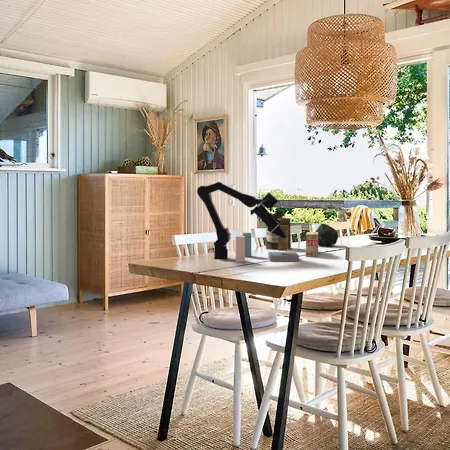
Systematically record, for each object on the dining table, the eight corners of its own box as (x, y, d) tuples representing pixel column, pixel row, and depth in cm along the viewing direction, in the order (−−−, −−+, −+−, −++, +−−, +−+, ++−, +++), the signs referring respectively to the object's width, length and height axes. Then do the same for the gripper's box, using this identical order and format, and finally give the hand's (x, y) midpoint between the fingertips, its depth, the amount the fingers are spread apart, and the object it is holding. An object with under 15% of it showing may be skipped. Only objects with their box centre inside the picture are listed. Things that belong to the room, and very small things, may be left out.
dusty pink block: (235, 262, 269) (235, 236, 268) (235, 260, 274) (235, 236, 273) (244, 262, 269) (245, 236, 268) (244, 260, 274) (244, 236, 273)
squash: (345, 237, 342) (330, 218, 346) (337, 240, 329) (321, 221, 333) (329, 251, 348) (314, 232, 352) (320, 254, 336) (305, 235, 340)
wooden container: (262, 249, 324) (262, 212, 323) (270, 246, 338) (270, 211, 336) (286, 250, 319) (286, 212, 317) (293, 247, 332) (293, 211, 331)
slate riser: (270, 261, 271) (270, 255, 271) (268, 257, 285) (268, 252, 285) (298, 261, 271) (298, 255, 271) (295, 257, 285) (295, 252, 285)
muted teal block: (242, 256, 289) (242, 233, 288) (242, 255, 294) (242, 232, 293) (251, 256, 289) (251, 233, 288) (251, 255, 294) (251, 232, 293)
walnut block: (278, 250, 276) (278, 225, 275) (278, 249, 281) (279, 225, 280) (287, 250, 276) (287, 226, 275) (287, 249, 280) (288, 225, 279)
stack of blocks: (307, 252, 310) (307, 230, 310) (318, 252, 309) (318, 230, 308) (305, 257, 289) (305, 233, 289) (317, 257, 288) (317, 234, 287)
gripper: (274, 204, 268) (296, 227, 267) (277, 203, 286) (297, 225, 285) (258, 220, 270) (280, 243, 269) (261, 218, 288) (282, 239, 287)
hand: (285, 237), depth 277 cm, fingers closed on walnut block, 4 cm apart
